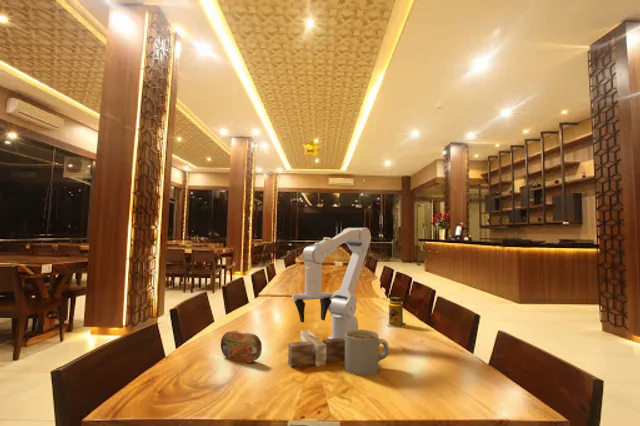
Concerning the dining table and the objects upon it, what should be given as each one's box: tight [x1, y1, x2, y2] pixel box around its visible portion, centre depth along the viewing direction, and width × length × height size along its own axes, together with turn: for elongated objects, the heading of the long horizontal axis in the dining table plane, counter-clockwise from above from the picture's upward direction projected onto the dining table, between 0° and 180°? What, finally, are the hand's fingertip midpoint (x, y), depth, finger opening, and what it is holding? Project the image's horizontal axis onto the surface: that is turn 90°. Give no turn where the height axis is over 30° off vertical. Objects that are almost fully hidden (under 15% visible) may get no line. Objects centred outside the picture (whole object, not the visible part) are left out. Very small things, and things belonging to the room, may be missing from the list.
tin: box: [220, 330, 263, 364], centre depth 102 cm, size 15×3×8 cm, turn 62°
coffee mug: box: [344, 328, 390, 377], centre depth 97 cm, size 13×10×10 cm
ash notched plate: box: [299, 330, 327, 367], centre depth 105 cm, size 3×16×6 cm, turn 22°
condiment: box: [386, 296, 406, 328], centre depth 145 cm, size 7×8×12 cm
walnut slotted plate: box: [287, 338, 345, 368], centre depth 101 cm, size 18×3×6 cm, turn 112°
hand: (312, 320), depth 112 cm, fingers open, 7 cm apart
